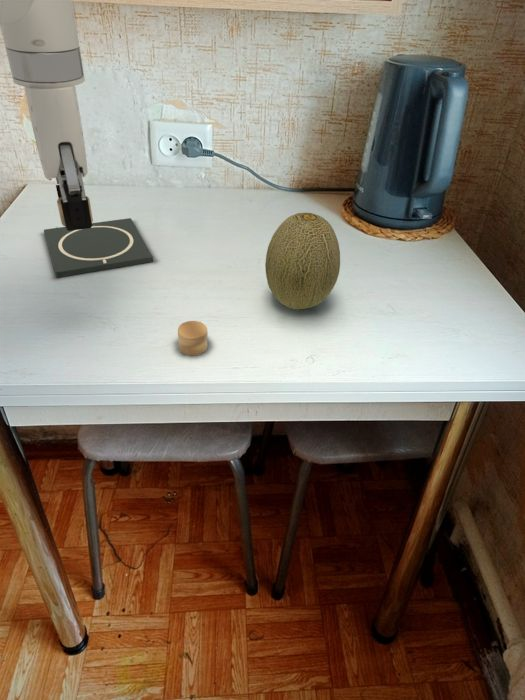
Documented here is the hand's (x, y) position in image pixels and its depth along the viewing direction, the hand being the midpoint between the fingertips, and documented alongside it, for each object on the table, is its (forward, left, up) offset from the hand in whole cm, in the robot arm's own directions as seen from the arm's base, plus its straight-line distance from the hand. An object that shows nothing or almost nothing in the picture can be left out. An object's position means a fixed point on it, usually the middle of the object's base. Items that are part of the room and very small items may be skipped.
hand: (76, 219), depth 67 cm
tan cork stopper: (+11, -14, -15) cm, 23 cm away
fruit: (+30, -9, -15) cm, 35 cm away
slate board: (+4, +19, -15) cm, 24 cm away
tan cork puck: (0, 0, 0) cm, 0 cm away
